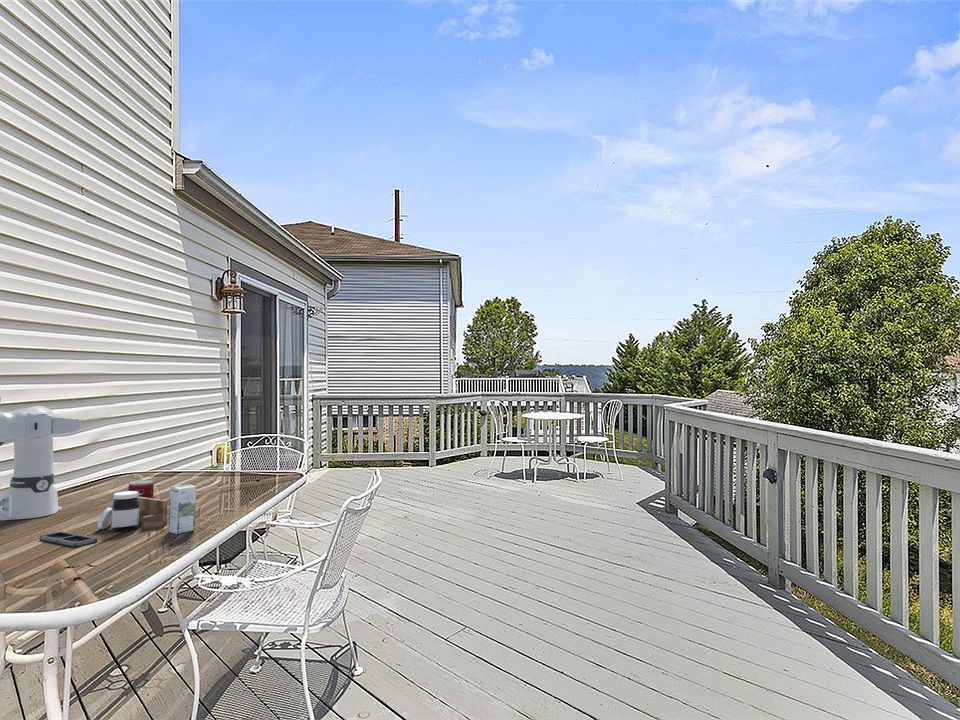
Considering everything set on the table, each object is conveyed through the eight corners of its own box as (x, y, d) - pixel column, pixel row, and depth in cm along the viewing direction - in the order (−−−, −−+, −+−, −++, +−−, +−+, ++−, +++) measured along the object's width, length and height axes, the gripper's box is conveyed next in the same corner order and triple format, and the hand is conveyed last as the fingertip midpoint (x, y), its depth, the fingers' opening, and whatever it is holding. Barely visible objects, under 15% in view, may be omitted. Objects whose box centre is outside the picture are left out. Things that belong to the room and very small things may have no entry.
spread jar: (139, 530, 180) (140, 494, 181) (97, 535, 174) (98, 498, 174) (137, 522, 190) (138, 488, 191) (97, 527, 184) (98, 492, 184)
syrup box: (185, 528, 183) (187, 483, 184) (195, 531, 180) (196, 485, 181) (167, 532, 179) (169, 486, 179) (177, 535, 175) (178, 488, 176)
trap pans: (39, 539, 169) (39, 535, 169) (61, 535, 175) (61, 531, 175) (75, 547, 162) (75, 543, 162) (97, 542, 167) (97, 538, 167)
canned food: (123, 512, 204) (124, 482, 205) (145, 508, 211) (145, 479, 212) (135, 515, 201) (136, 484, 201) (157, 510, 208) (158, 481, 208)
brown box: (111, 524, 188) (111, 500, 188) (134, 519, 195) (134, 496, 196) (144, 530, 181) (144, 505, 181) (166, 524, 188) (167, 500, 189)
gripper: (9, 434, 171) (58, 430, 184) (48, 437, 163) (97, 433, 175) (9, 413, 171) (59, 411, 184) (49, 415, 163) (98, 413, 175)
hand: (78, 422), depth 180 cm, fingers closed
